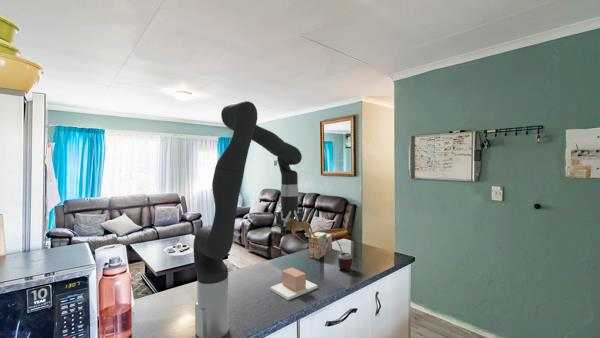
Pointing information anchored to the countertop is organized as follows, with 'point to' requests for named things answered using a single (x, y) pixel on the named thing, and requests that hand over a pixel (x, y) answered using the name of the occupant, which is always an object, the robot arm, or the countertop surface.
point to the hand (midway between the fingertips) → (289, 233)
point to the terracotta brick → (294, 279)
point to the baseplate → (291, 294)
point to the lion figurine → (298, 227)
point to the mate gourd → (344, 260)
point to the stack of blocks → (319, 245)
